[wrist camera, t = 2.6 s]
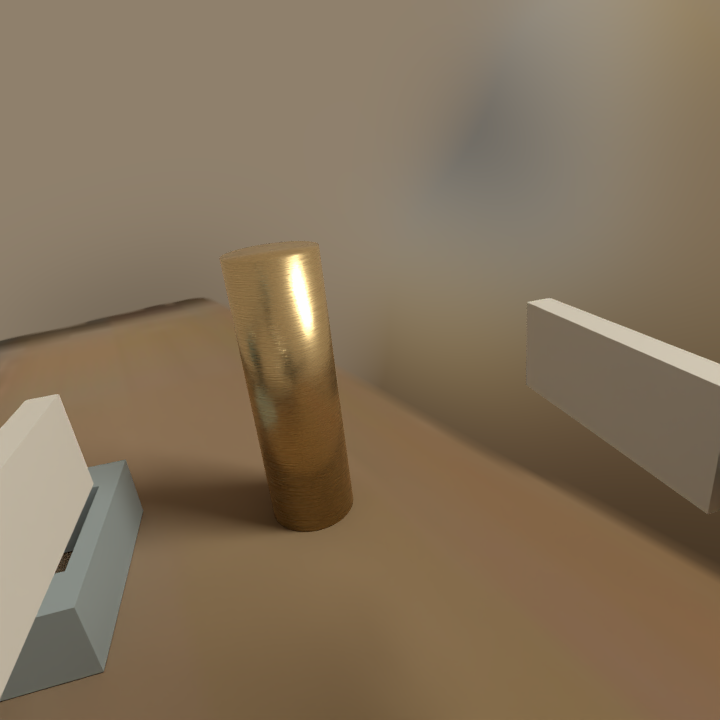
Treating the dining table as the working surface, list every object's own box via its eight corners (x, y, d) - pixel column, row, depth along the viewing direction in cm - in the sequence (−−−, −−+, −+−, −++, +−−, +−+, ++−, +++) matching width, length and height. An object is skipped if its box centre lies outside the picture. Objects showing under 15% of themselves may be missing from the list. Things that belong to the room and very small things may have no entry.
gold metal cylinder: (278, 540, 25) (218, 267, 20) (271, 489, 29) (220, 250, 24) (361, 519, 26) (327, 251, 20) (343, 472, 30) (310, 237, 24)
